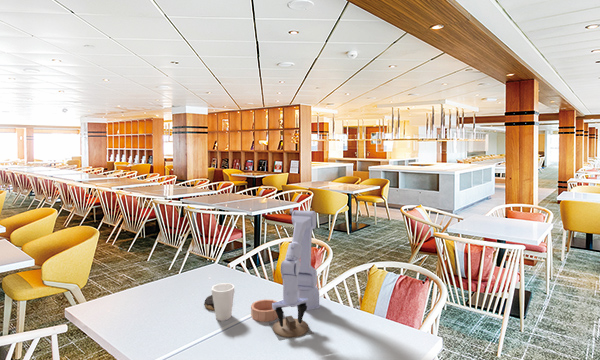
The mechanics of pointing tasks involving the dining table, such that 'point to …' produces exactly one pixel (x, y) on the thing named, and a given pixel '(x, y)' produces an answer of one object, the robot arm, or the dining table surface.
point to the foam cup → (223, 300)
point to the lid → (290, 327)
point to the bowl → (263, 311)
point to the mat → (290, 337)
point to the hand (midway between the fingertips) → (290, 323)
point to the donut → (209, 303)
